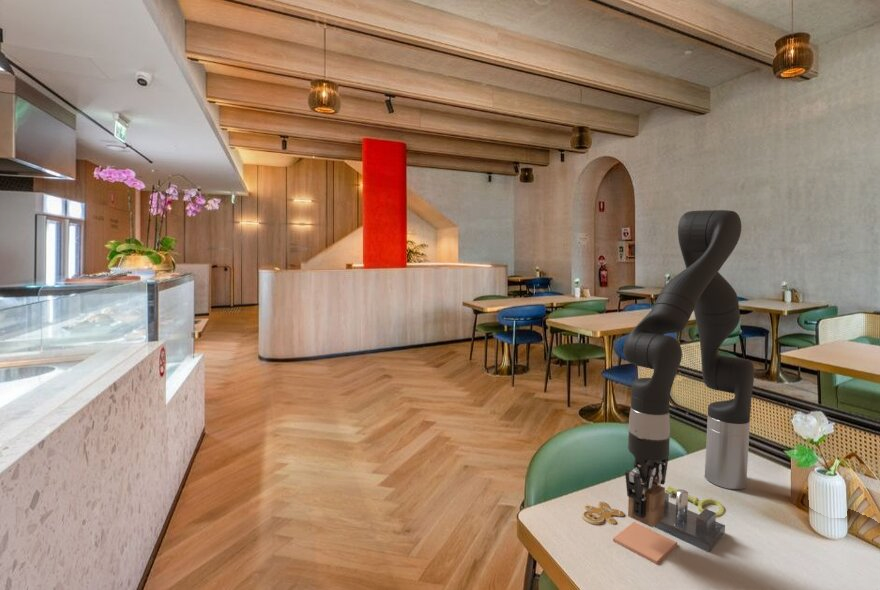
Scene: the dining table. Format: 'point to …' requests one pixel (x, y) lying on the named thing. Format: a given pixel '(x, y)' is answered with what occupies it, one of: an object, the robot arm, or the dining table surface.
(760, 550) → the dining table surface
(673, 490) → the key
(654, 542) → the tile
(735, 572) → the dining table surface
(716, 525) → the grey clamp base
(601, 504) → the cookie
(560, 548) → the dining table surface
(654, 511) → the sleeve
